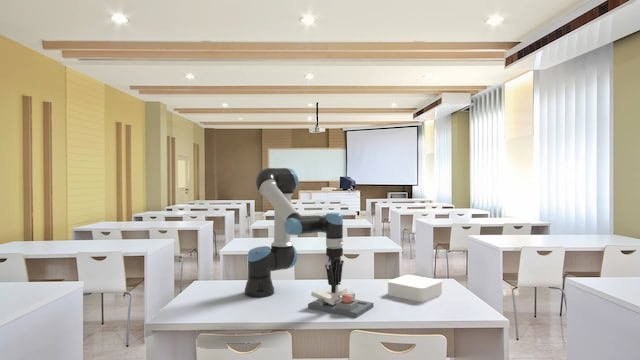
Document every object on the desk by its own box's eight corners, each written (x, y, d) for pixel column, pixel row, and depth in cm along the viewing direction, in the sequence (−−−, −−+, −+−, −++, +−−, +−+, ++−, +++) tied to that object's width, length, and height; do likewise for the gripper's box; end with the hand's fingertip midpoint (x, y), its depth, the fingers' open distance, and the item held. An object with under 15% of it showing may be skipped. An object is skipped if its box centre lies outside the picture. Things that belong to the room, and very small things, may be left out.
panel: (307, 308, 194) (307, 297, 194) (327, 298, 209) (327, 288, 209) (356, 317, 181) (356, 306, 181) (373, 307, 196) (373, 296, 195)
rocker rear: (320, 297, 202) (320, 292, 202) (326, 294, 207) (325, 290, 207) (342, 295, 196) (341, 291, 196) (347, 292, 200) (346, 288, 201)
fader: (348, 300, 197) (348, 293, 197) (351, 299, 199) (351, 292, 199) (352, 301, 196) (352, 294, 196) (355, 299, 198) (355, 292, 198)
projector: (444, 293, 218) (444, 280, 218) (423, 303, 202) (422, 288, 202) (409, 286, 233) (409, 273, 233) (386, 295, 216) (385, 281, 216)
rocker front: (311, 295, 196) (311, 291, 195) (316, 293, 200) (317, 289, 200) (333, 305, 190) (333, 301, 189) (338, 302, 194) (339, 298, 194)
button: (340, 304, 188) (340, 295, 188) (345, 301, 192) (345, 293, 192) (349, 305, 185) (349, 297, 185) (354, 302, 189) (354, 294, 189)
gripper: (334, 250, 184) (334, 304, 184) (348, 245, 195) (349, 296, 195) (319, 248, 188) (320, 301, 188) (334, 244, 199) (334, 294, 199)
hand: (334, 299), depth 192 cm, fingers closed
